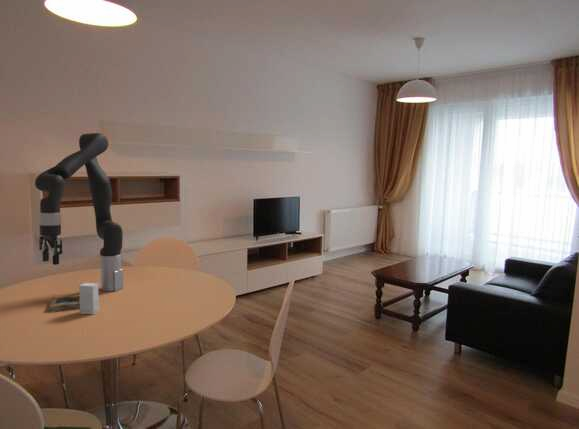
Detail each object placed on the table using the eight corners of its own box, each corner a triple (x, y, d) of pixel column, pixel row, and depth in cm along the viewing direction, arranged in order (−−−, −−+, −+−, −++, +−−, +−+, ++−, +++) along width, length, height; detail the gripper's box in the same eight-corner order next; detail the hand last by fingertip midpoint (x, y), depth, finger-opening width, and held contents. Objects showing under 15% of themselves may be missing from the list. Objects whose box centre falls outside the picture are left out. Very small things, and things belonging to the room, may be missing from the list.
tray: (85, 299, 185) (85, 294, 185) (83, 308, 173) (83, 303, 173) (52, 302, 180) (52, 297, 179) (48, 312, 168) (48, 306, 168)
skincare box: (99, 311, 171) (98, 283, 169) (93, 314, 167) (92, 286, 165) (85, 310, 171) (84, 282, 170) (79, 313, 167) (78, 285, 166)
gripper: (68, 224, 164) (68, 264, 166) (51, 221, 172) (51, 258, 174) (49, 226, 158) (49, 267, 160) (32, 222, 166) (32, 261, 168)
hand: (50, 262), depth 167 cm, fingers open, 8 cm apart
